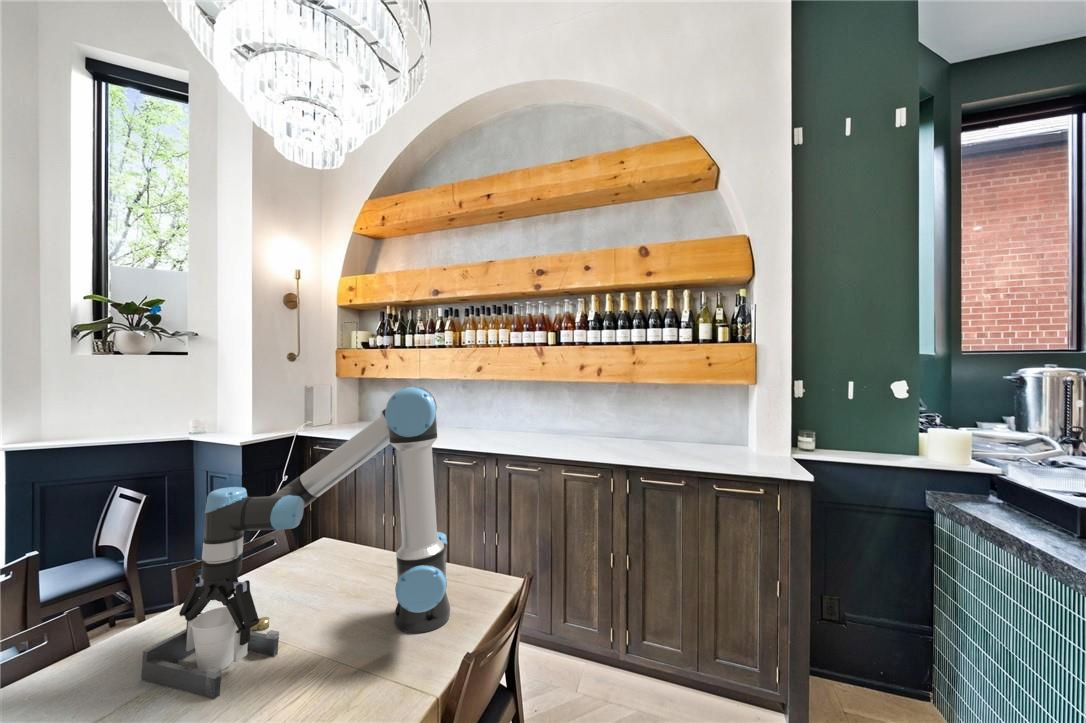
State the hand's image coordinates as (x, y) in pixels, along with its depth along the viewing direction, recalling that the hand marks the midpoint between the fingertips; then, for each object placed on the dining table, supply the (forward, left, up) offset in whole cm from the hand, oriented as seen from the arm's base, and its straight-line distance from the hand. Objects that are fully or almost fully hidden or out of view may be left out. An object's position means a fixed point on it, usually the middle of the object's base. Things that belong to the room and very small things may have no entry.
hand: (216, 653), depth 97 cm
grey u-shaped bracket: (0, 0, -3) cm, 3 cm away
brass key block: (+6, -14, -3) cm, 15 cm away
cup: (0, 0, -3) cm, 3 cm away
